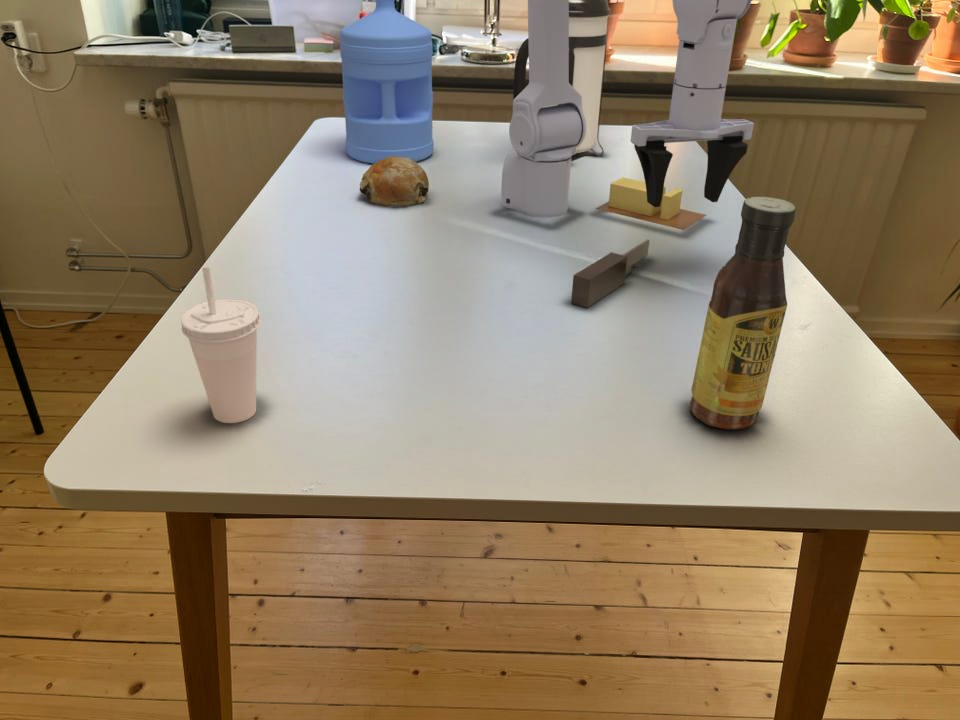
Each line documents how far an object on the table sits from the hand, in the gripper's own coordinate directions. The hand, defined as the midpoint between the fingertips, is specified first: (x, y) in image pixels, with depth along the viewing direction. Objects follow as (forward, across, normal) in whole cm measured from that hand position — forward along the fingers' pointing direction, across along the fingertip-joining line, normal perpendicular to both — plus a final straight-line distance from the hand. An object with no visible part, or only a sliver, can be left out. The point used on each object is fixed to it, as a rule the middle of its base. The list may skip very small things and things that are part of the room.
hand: (682, 201), depth 98 cm
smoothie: (+10, -53, -19) cm, 57 cm away
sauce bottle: (+10, -11, -30) cm, 34 cm away
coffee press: (+10, +6, +54) cm, 55 cm away
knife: (+9, -8, -1) cm, 12 cm away
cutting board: (+9, +7, +20) cm, 23 cm away
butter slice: (+8, +8, +17) cm, 21 cm away
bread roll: (+10, -28, +37) cm, 47 cm away
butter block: (+8, +5, +22) cm, 24 cm away
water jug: (+10, -24, +61) cm, 67 cm away
